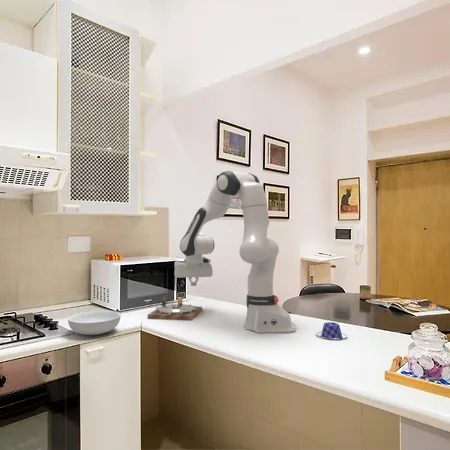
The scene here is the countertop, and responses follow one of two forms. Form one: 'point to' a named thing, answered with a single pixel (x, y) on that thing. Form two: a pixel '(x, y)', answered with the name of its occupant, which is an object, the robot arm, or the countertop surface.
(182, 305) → the sprocket
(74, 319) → the serving bowl
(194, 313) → the index board
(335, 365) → the countertop surface
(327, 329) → the purple domed brimmed piece
